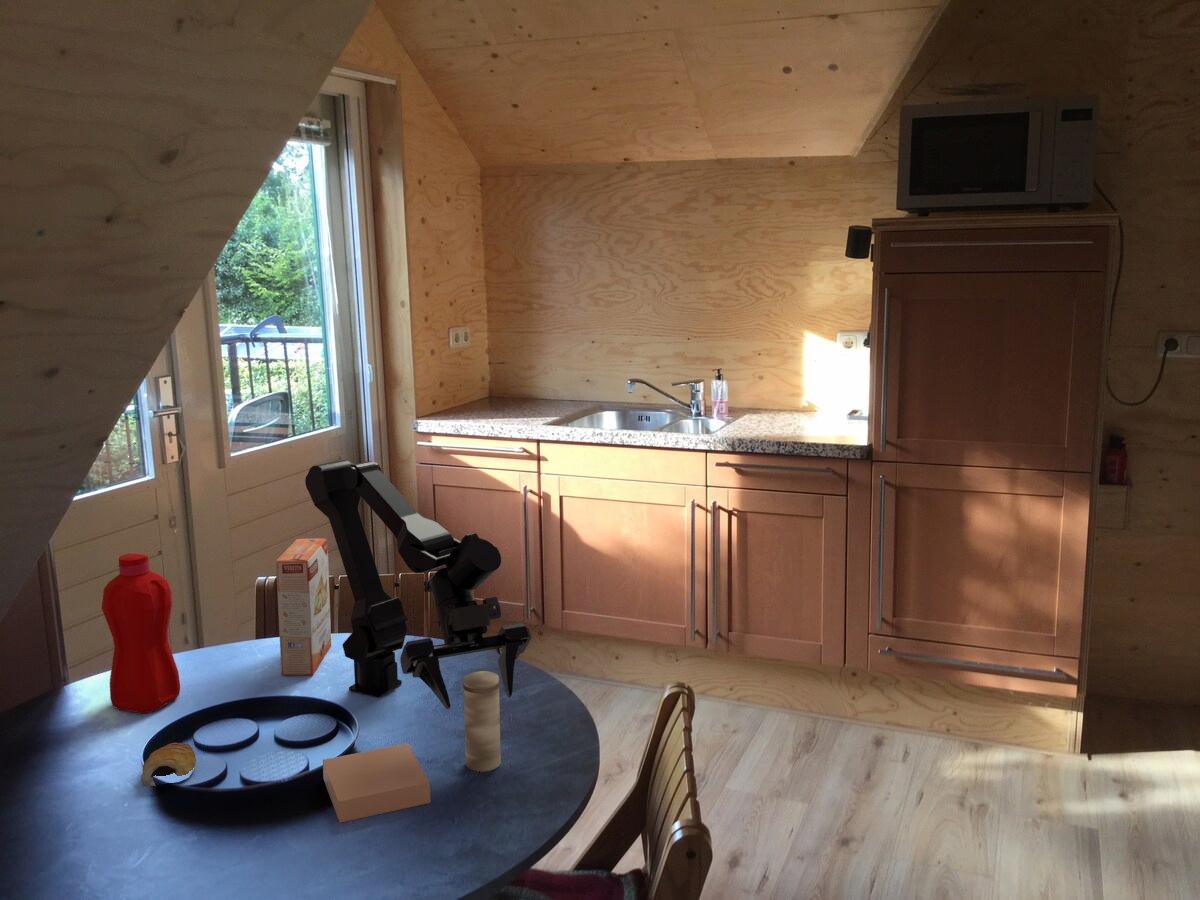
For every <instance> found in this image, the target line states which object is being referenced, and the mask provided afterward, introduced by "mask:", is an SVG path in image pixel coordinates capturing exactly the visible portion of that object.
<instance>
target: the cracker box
mask: <svg viewBox="0 0 1200 900" xmlns="http://www.w3.org/2000/svg"><path fill="white" fill-rule="evenodd" d="M328 544H329V543H328V538H321V537H320V538H319V537H318V538H317V537H316V538H296V539H295V541H294V542H293V543H292V544H291V545H289V547H287V549H286V550H285V551H284V552H283V553H282V554H281V555H280V556H279V557H278V558H277V559H276V560H275V569H276V571H275V572H276V573H275V574H276V588H277V609H278V613H277V614H278V631H279V649H280V652H279V653H280V671H281V676H313V675H314V674H315V673H316V671H317V669H318V667H319V666H320V664H321V663H322V661H323V659H324V658H325V656H326V655H327V653H328V651H329V650H330V648H331V647H332V632H331V627H332V625H331V603H330V601H331V598H330V576H329V575H330V573H329V552H328V551H329V548H328V547H329V546H328Z"/></svg>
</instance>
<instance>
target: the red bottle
mask: <svg viewBox="0 0 1200 900" xmlns="http://www.w3.org/2000/svg"><path fill="white" fill-rule="evenodd" d="M150 568H151V567H150V559H149V555H148V554H143V553H129V552H128V553H124V554H122V555H120V556H119V557H118V570H119V571H118V572H119V574H118V575H116V576H115V577H114V578H112V579H111V580H109V581H108V582H107V584H106V585H105V586H104V588H103V591H102V602H101V610H102V612H103V615H104V619H105V620H106V623H107V626H108V628H109V631H110V633H111V636H112V641H113V646H114V650H113V656H112V662H111V669H110V676H109V699H110V701H111V704H112V706H113V707H114V708H116V709H117V710H123V711H129V712H134V713H139V714H146V713H150V712H151V713H152V712H155V711H157V710H158V709H161V708H162V707H164V706H165V705H167V704H168V703H171V702H173V701H174V700H176V699H177V698H178V697H179V696H180V693H181V692H180V691H181V681H180V674H179V670H178V667H177V664H176V661H175V657H174V655H173V653H172V652H173V651H172V650H171V646H170V642H169V641H168V640H169V631H168V629H169V625H170V620H171V619H170V618H171V613H172V607H173V597H172V596H173V593H172V590H171V587H170V585H169V582H168V580H167V579H166V578H165V577H164V576H162V575H161V574H159V573H157V572H154V571H152V570H150Z"/></svg>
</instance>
